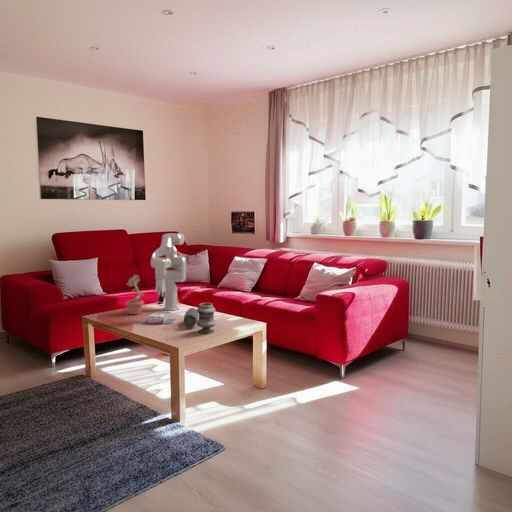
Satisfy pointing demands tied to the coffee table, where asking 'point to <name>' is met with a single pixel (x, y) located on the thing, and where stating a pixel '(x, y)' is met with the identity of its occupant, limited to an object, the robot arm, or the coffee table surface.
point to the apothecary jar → (206, 317)
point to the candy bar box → (158, 317)
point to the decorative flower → (135, 304)
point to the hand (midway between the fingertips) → (161, 302)
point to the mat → (163, 323)
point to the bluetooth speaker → (191, 317)
